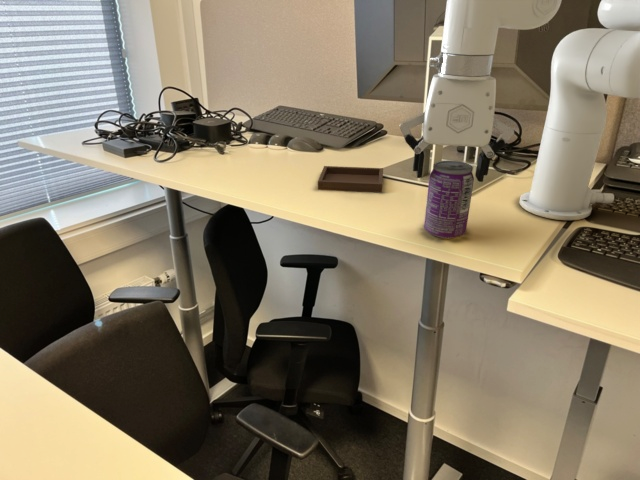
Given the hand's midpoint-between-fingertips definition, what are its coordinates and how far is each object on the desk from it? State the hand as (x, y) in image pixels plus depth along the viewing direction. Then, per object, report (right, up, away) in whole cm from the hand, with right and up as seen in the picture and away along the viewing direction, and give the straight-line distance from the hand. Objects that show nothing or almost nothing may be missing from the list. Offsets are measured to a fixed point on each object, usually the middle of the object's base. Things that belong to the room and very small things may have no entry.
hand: (448, 177), depth 76 cm
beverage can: (+1, -9, +5) cm, 10 cm away
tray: (-14, +2, +27) cm, 30 cm away
